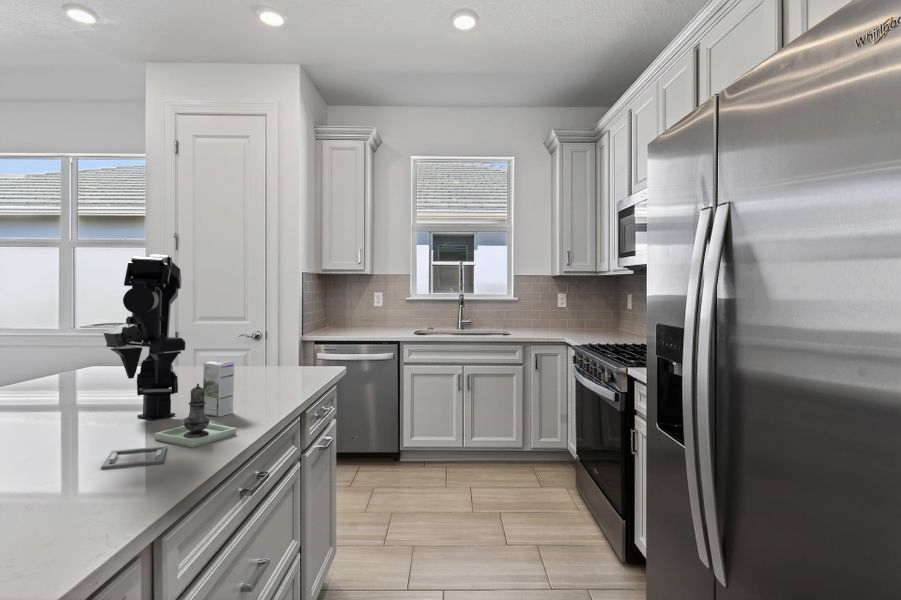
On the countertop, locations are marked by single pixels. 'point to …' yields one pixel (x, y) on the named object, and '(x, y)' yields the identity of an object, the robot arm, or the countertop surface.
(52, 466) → the countertop surface
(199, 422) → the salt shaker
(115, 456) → the socket
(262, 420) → the countertop surface
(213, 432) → the tray
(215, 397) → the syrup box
